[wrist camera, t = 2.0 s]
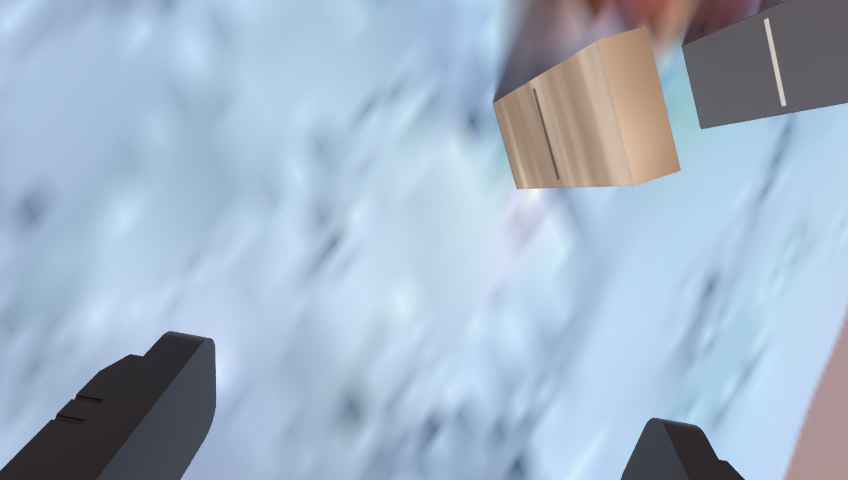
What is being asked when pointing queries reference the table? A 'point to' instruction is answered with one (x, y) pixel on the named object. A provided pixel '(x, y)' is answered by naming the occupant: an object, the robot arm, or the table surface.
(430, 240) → the table surface
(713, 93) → the charcoal domino
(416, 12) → the table surface
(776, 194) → the table surface
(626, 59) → the maple domino
